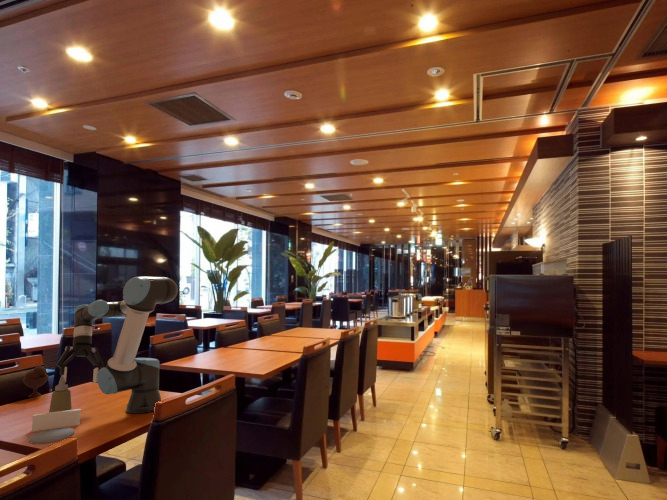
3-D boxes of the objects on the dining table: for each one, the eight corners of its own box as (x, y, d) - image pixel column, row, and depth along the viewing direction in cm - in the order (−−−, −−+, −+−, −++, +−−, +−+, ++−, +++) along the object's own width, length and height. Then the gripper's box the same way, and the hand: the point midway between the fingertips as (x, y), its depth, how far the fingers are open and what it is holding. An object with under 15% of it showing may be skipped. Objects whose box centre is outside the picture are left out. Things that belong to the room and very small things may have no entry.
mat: (82, 433, 156) (82, 430, 156) (44, 446, 143) (44, 443, 143) (59, 427, 161) (59, 425, 161) (21, 439, 149) (21, 437, 149)
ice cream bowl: (43, 391, 215) (45, 363, 216) (50, 395, 208) (52, 366, 209) (19, 396, 207) (21, 366, 208) (25, 400, 200) (27, 369, 201)
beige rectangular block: (80, 423, 166) (80, 408, 167) (79, 424, 164) (80, 409, 165) (32, 429, 159) (33, 414, 159) (31, 431, 157) (32, 415, 158)
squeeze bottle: (52, 424, 165) (54, 380, 166) (45, 420, 170) (47, 377, 171) (74, 419, 171) (76, 376, 172) (67, 415, 176) (69, 373, 177)
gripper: (104, 341, 200) (103, 384, 191) (49, 337, 181) (44, 385, 171) (113, 336, 197) (112, 380, 188) (57, 331, 178) (53, 380, 168)
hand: (79, 382), depth 180 cm, fingers open, 13 cm apart
